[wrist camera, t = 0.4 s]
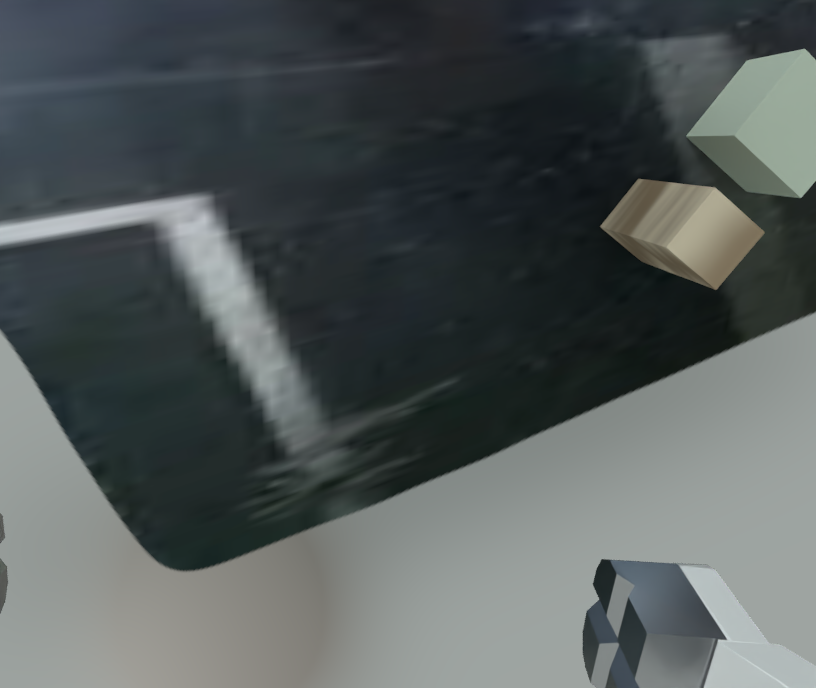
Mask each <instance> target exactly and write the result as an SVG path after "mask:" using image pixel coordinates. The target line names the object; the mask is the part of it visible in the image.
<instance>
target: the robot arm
mask: <svg viewBox="0 0 816 688" xmlns="http://www.w3.org/2000/svg"><path fill="white" fill-rule="evenodd" d="M4 538H5V533H4V525H3V516H2V515H1V514H0V543H1V542H2V540H3V539H4ZM7 584H8V577H7V566H6V565H5V564H4V563H3V561H2V560H1V559H0V613H1V611H2V608H3V605H4V603H5V599H6V592H7ZM593 586H594V588H595V590H596V593H597V595H598V597H599V601H598V602H596V603H595V604H594V605H593V606H592V607H591V608H590V609H589V610H588V611H587V613H586V618H585V623H584V629H583V657H584V662H585V668H586V671H587V674H588V677H589V680H590V682H591V683H592V684H593V685H594V686H595V687H596V688H816V666H814V665H813V664H811V663H810V662H808V661H806V660H805V659H803V658H802V657H800V656H798V655H797V654H795V653H793V652H792V651H790V650H789V649H787V648H785V647H784V646H782V645H779V644H769V642H768V641H767V640H766V639H765V637H764V636H763V634H762V633H761V632H760V630H759V629H758V628H757V626H756V625H755V623H754V622H753V621H752V619H751V618H750V616H749V615H748V614H747V612H746V611H745V610H744V608H743V607H742V606H741V604H740V603H739V601H738V600H737V599H736V597H735V596H734V595H733V593H732V592H731V591H730V589H729V588H728V586H727V585H726V584H725V582H724V581H723V580H722V578H721V577H720V575H719V574H718V573H717V571H716V570H715V569H714V568H712V567H710V566H708V565H706V564H683V563H654V562H639V561H623V560H604V559H602V560H601V562H600V564H599V566H598V567H597V570H596V574H595V578H594V583H593Z"/></svg>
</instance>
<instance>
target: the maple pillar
mask: <svg viewBox="0 0 816 688" xmlns="http://www.w3.org/2000/svg"><path fill="white" fill-rule="evenodd" d="M600 227H601V228H602V229H603V230H604V231H605V232H607V233H608V234H609V235H610V236H611V237H613V238H614V239H615V240H616V241H617V242H619V243H620V244H621V245H622V246H623V247H625V248H626V249H627V250H628V251H629V252H631V253H632V254H633V255H634V256H635V257H637V258H638V259H639V260H640V261H641V262H644V263H647V264H649V265H652V266H654V267H657V268H660V269H662V270H665V271H668V272H670V273H673V274H676V275H678V276H681V277H683V278H686V279H689V280H691V281H694V282H697V283H699V284H702V285H704V286H707V287H710V288H712V289H715V290H717V288H718V287H719V286H720V285H721V284H722V282H723V281H724V280H725V279H726V278H727V277H728V275H729V274H730V273H731V272H732V271H733V270H734V268H735V267H736V266H737V265H738V264H739V262H740V261H741V260H742V259H743V258H744V257H745V255H746V254H747V253H748V252H749V251H750V249H751V248H752V247H753V246H754V245H755V244H756V242H757V241H758V240H759V239H760V238H761V236H762V235H763V234H764V233H765V232H764V231H763V230H762V229H761V228H760V227H758V226H757V225H756V224H755V223H754V222H753V221H752V220H751V219H750V218H749V217H747V216H746V215H745V214H744V213H743V212H742V211H741V210H740V209H739V208H737V207H736V206H735V205H734V204H733V203H732V202H731V201H730V200H729V199H727V198H726V197H725V196H724V195H723V194H722V193H721V192H720V191H719V190H717V189H716V188H715V187H706V186H697V185H689V184H680V183H671V182H662V181H654V180H645V179H638V180H637V181H636V182H635V183H634V185H633V186H632V187H631V188H630V190H629V191H628V192H627V193H626V195H625V196H624V197H623V198H622V200H621V201H620V202H619V203H618V205H617V206H616V207H615V208H614V210H613V211H612V212H611V213H610V215H609V216H608V217H607V218H606V220H605V221H604V222H603V223H602V225H601V226H600Z"/></svg>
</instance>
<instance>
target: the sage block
mask: <svg viewBox="0 0 816 688" xmlns="http://www.w3.org/2000/svg"><path fill="white" fill-rule="evenodd" d="M686 137H687V138H688V139H689V140H690V141H691V142H692V143H694V144H695V145H696V146H697V147H698V148H699V149H700V150H701V151H702V152H703V153H704V154H706V155H707V156H708V157H709V158H710V159H711V160H712V161H713V162H714V163H715V164H717V165H718V166H719V167H720V168H721V169H722V170H723V171H724V172H725V173H726V174H727V175H729V176H730V177H731V178H732V179H733V180H734V181H735V182H736V183H737V184H738V185H739V186H741V187H742V188H743V189H744V190H745V191H746V192H752V193H761V194H769V195H778V196H786V197H795V198H802V196H803V195H804V194H805V193H806V192H807V191H808V189H809V188H810V187H811V186H812V185H813V184H814V182H815V181H816V60H815V59H814V58H813V57H812V56H811V55H810V54H809V53H808V52H807V51H806V50H805V49H802V50H797V51H792V52H787V53H782V54H777V55H772V56H767V57H762V58H757V59H752V60H747V61H746V62H745V63H744V65H743V66H742V67H741V68H740V70H739V71H738V72H737V73H736V75H735V76H734V77H733V78H732V80H731V81H730V82H729V83H728V85H727V86H726V87H725V88H724V90H723V91H722V92H721V93H720V94H719V96H718V97H717V98H716V99H715V101H714V102H713V103H712V104H711V106H710V107H709V108H708V109H707V111H706V112H705V113H704V114H703V116H702V117H701V118H700V119H699V121H698V122H697V123H696V124H695V126H694V127H693V128H692V129H691V131H690V132H689V133H688V134H687V135H686Z"/></svg>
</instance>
